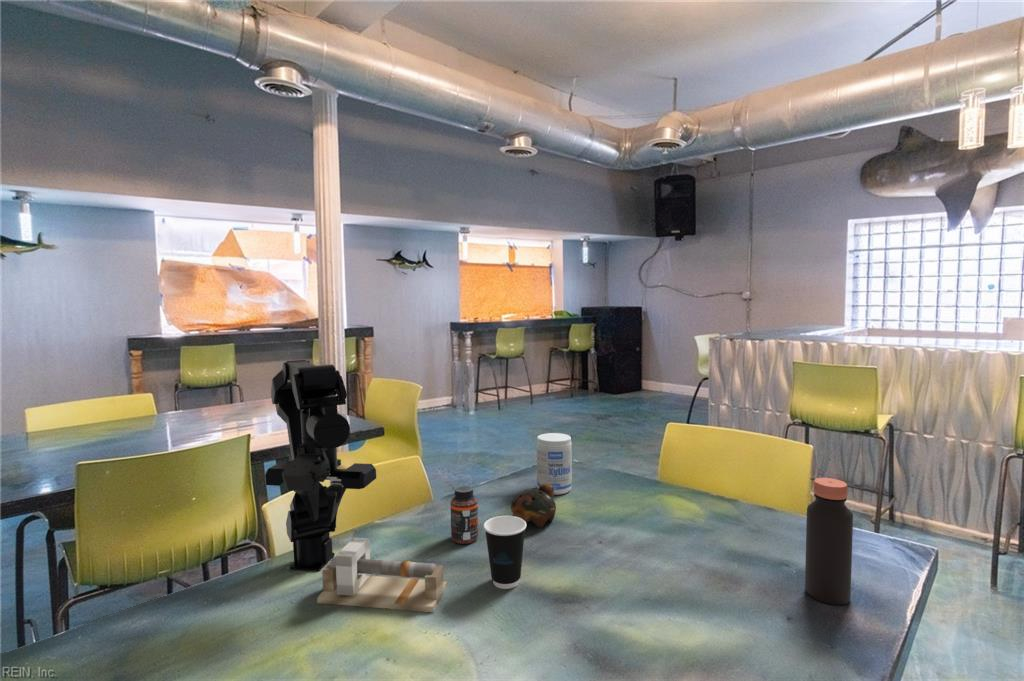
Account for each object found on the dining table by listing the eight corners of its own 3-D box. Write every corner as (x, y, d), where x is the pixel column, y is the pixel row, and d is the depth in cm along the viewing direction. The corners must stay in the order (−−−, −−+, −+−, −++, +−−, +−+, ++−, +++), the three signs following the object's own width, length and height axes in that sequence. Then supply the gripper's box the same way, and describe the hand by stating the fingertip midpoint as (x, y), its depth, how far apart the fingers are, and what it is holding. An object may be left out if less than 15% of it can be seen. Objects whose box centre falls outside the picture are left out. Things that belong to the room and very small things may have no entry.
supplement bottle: (474, 546, 111) (473, 494, 110) (447, 544, 112) (446, 492, 111) (481, 533, 116) (480, 484, 116) (456, 532, 118) (454, 483, 117)
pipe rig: (317, 602, 91) (315, 568, 90) (339, 578, 99) (338, 546, 98) (433, 612, 87) (432, 576, 87) (446, 586, 95) (445, 553, 95)
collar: (337, 594, 91) (335, 555, 90) (355, 573, 97) (354, 537, 97) (353, 595, 90) (351, 556, 90) (370, 574, 97) (369, 538, 96)
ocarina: (566, 514, 126) (567, 483, 125) (535, 544, 113) (535, 510, 112) (532, 505, 131) (531, 475, 130) (498, 532, 118) (498, 499, 117)
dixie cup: (515, 566, 102) (514, 512, 101) (535, 586, 95) (534, 528, 94) (478, 577, 98) (476, 520, 97) (495, 598, 91) (494, 537, 90)
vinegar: (835, 610, 86) (838, 492, 84) (796, 590, 92) (798, 479, 90) (859, 599, 89) (863, 484, 87) (820, 580, 95) (822, 473, 93)
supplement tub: (552, 498, 136) (551, 443, 135) (529, 488, 144) (528, 436, 143) (579, 490, 142) (578, 437, 141) (556, 480, 149) (556, 430, 148)
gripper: (241, 447, 86) (246, 538, 87) (346, 450, 83) (350, 544, 84) (281, 430, 97) (285, 511, 98) (375, 432, 94) (379, 516, 95)
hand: (323, 520), depth 94 cm, fingers open, 3 cm apart
